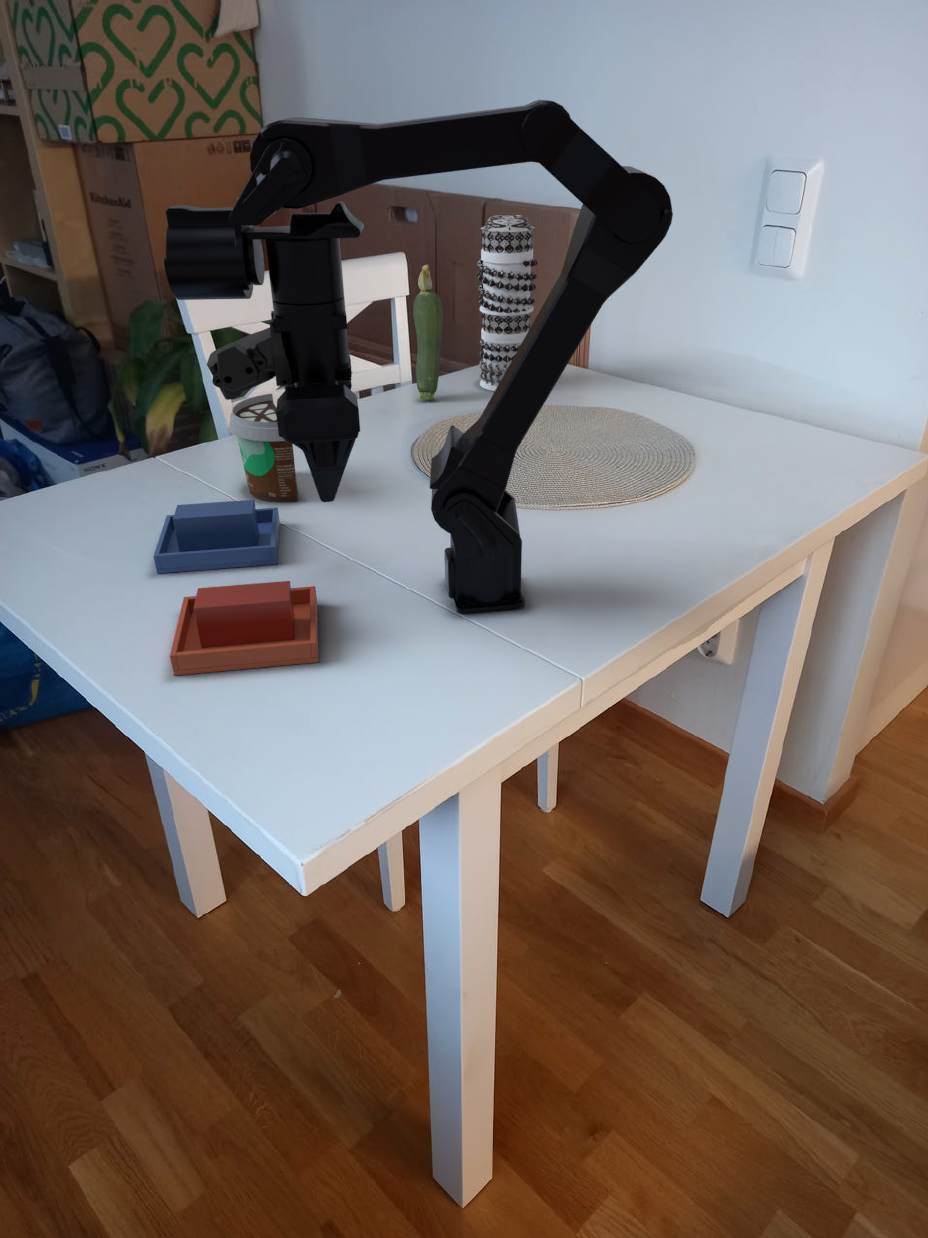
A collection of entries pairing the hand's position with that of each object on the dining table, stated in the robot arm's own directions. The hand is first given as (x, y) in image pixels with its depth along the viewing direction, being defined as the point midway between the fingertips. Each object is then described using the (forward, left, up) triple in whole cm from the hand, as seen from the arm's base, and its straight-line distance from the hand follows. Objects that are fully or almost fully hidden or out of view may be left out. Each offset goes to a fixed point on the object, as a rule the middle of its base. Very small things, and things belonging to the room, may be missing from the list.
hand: (326, 480), depth 79 cm
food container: (+8, -28, -12) cm, 32 cm away
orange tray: (+8, +6, -12) cm, 16 cm away
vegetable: (-16, -60, -12) cm, 63 cm away
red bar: (+8, +6, -12) cm, 15 cm away
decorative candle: (-29, -66, -12) cm, 73 cm away
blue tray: (+12, -13, -12) cm, 21 cm away
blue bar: (+12, -13, -12) cm, 21 cm away
